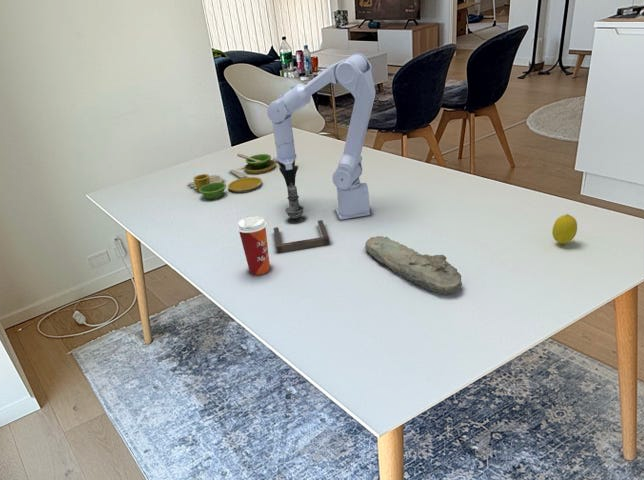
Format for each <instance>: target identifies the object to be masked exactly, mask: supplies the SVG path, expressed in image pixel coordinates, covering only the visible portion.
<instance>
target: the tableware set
mask: <svg viewBox="0 0 644 480" xmlns="http://www.w3.org/2000/svg"><path fill="white" fill-rule="evenodd" d="M236 156H237V157H239V158H241V159H245V163H246V164H245V165H244V166H243V170H244V171H246V173H248V174H261V173H266V172H269V171H271V170H272V169H273V170H274V168H275V167H276V165H277V163H278V161H274V157H272V156H271V155H270V154H269V153H268V154H266V153H262V154H261V153H259V154H254V155H251V156H248V155H245V154H242V153H240V152H239V153H236ZM294 166H296V162H295V163H294ZM229 172H230V173H231V174H232V175H234V176H236V177H237V178H238V179H235V180H233V181H231V182H229V183H228V185H227V184H226V183H225V182H224V179H223V178H221V177H219V176H218V175H217V174H212V175H209V174H208V173H202V174H197V175H195V176H194V177H193V178H192V180H193V181H191V182H188V186H189V187H190V188H191V189H192V188H193V190H194V191H196V190H197V192H199V193H200V194H202V195H203V196H204V198H205V199H206V200H216V199H219V198H221V197H222V196H223V195H224V192H225V190H226V188H228V189H229V190H230V191H232V192H234V193H246V192H250V191H253V190H256V189H257V188H259V187H261V184H262V183H263V180H262V178H260V177H257V176H248V177H246V176H247V175H245V174H244V173H242V172H240V171H239V172H238V171H236V170H234V169H230V170H229Z"/></svg>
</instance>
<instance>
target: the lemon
mask: <svg viewBox="0 0 644 480" xmlns="http://www.w3.org/2000/svg"><path fill="white" fill-rule="evenodd" d="M551 231H552V232H551V233H552V237H553V239H554V240H555V241H556V242H557V243H559V244H560V245H562V246H563V245H565V244H567V243H570V242H571V241H573V240H574V238H575V237H576V235H577V232H578V222H577V220H576V218H575V217H574V216H572V215H570V214H568V213H566V214H563V215H560V216H559V217H558V218H556V220H555V221H554V224H553V226H552V230H551Z"/></svg>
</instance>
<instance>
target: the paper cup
mask: <svg viewBox="0 0 644 480" xmlns="http://www.w3.org/2000/svg"><path fill="white" fill-rule="evenodd" d="M236 229H237V231H238V233H239V237H240V240H241V244H242V248H243V251H244V252H243V253H244V256H245V259H246V263H247V266H248V269H249V273H250V274H252V275H255V276H258V275H259V276H260V275H264V274H267V273H269V271H270V270H271V265H270V254H269V246H268V237H267V222H266V221H265V219H264V218H263V217H261V216H249V217H245V218H243V219H240V220H239V221H238V223H237V228H236Z"/></svg>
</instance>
